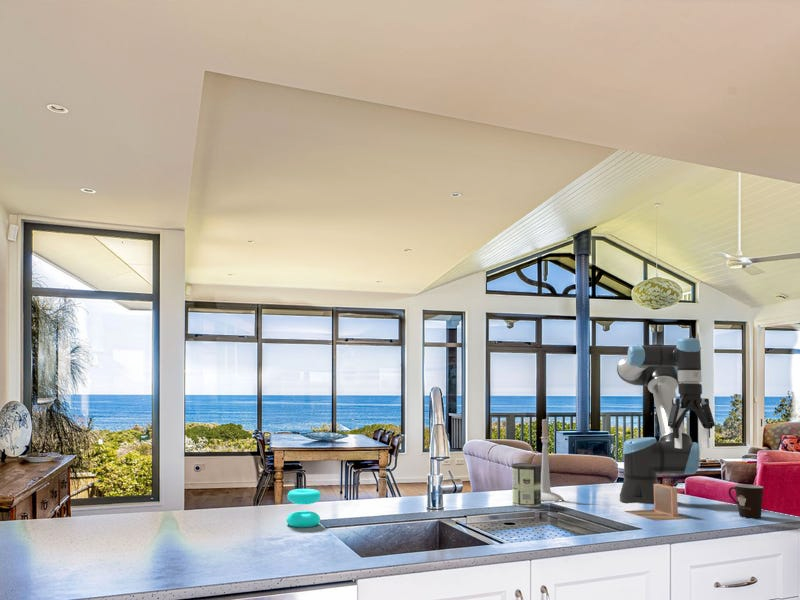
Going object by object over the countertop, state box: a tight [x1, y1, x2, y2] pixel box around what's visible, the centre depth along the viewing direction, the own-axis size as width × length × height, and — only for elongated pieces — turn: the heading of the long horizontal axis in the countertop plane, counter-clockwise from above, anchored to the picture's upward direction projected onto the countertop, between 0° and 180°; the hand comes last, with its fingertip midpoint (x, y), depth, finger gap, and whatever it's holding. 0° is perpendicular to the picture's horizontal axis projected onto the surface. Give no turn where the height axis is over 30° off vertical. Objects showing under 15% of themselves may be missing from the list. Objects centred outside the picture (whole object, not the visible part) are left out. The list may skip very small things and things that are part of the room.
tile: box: [653, 483, 679, 516], centre depth 229 cm, size 9×2×9 cm, turn 19°
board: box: [623, 509, 692, 522], centre depth 226 cm, size 16×14×1 cm
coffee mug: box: [728, 483, 764, 520], centre depth 231 cm, size 12×9×10 cm
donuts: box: [286, 488, 322, 528], centre depth 207 cm, size 10×10×10 cm
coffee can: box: [511, 462, 542, 508], centre depth 246 cm, size 10×10×14 cm
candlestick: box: [539, 418, 564, 501], centre depth 260 cm, size 13×13×30 cm
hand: (692, 447), depth 235 cm, fingers open, 11 cm apart
